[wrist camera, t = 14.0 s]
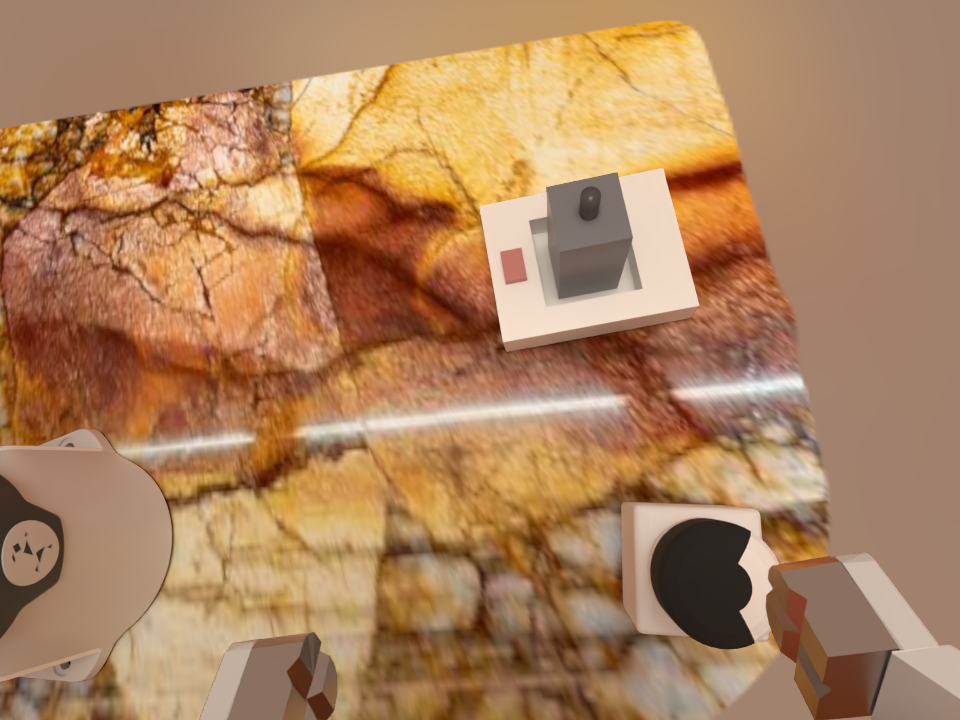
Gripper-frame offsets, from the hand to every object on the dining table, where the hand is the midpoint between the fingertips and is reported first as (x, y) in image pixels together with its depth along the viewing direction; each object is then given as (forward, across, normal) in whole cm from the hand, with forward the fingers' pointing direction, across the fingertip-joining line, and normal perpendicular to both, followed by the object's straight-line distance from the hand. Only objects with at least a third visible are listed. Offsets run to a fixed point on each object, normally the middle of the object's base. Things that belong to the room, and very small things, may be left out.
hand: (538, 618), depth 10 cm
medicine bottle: (+20, -8, +25) cm, 33 cm away
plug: (+35, -6, +9) cm, 36 cm away
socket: (+35, -6, +9) cm, 37 cm away
